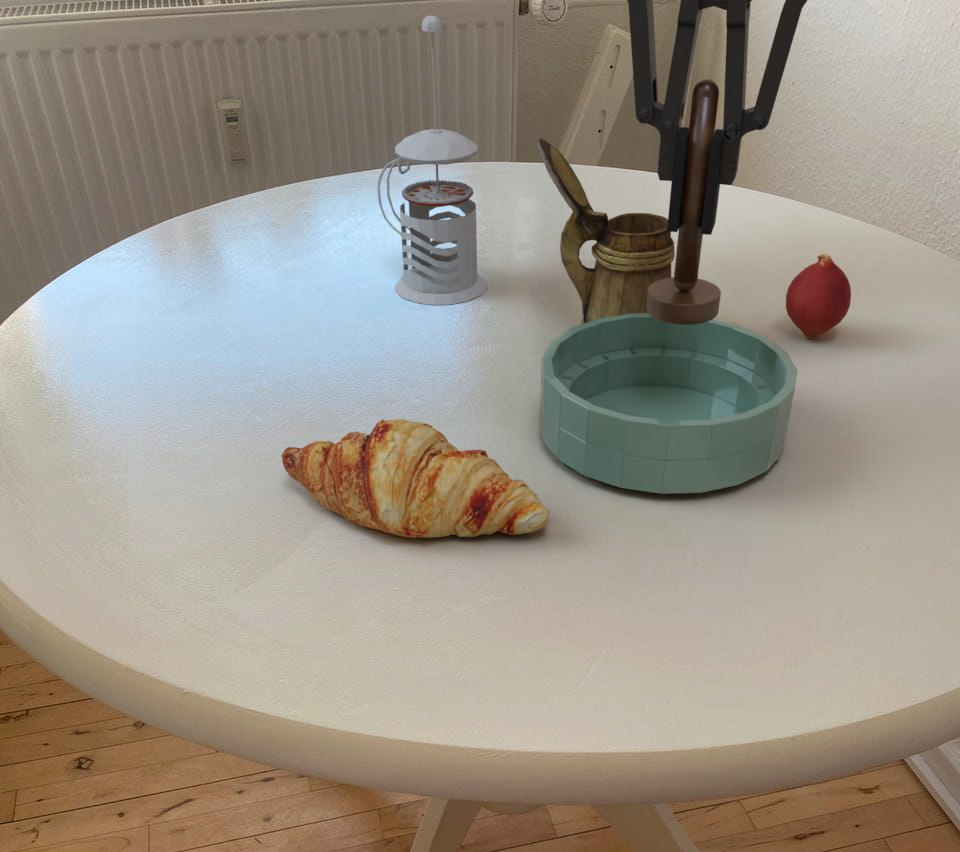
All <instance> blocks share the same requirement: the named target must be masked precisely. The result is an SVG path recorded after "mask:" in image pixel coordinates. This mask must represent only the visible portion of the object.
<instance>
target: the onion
mask: <svg viewBox="0 0 960 852" xmlns="http://www.w3.org/2000/svg"><path fill="white" fill-rule="evenodd" d="M851 299H852V289H851V284H850V281H849V279H848V276H847V275H846V274H845V272H844V271H843V269H841V267H839V266H838V265H837V264H836V263H835V262H834V260H833V259H832V257H831V256H830V254H828V253H821V254H820V255H817V261H816V262H815V263H812V264H809V265H808V266H806V267H805V268H803V269H802V270H801V271H800V272H799V273H797V275H796V276H795V277H794V278H793V279H792V281H791V282H790V284H789V286H788V287H787V291H786V293H785V311H786V313H787V316H788V318H789V319H790V320H791V322H792V323H793V324H794V325H795V326H796V327H797V328H798V329H799V330H800V331H801V332H802V334H803V335H804V336H805V337H806V338H807V339H814V338H817V337H818V336H821V335H824V334H825V333H828V332H830V331H831V330H832V329H834V328H835V327H837V325H839V324H841V322H842V321H843V319H845V317H846V316H847V314H848V312H849V309H850V307H851Z"/></svg>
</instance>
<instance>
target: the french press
mask: <svg viewBox="0 0 960 852" xmlns="http://www.w3.org/2000/svg"><path fill="white" fill-rule="evenodd" d="M442 24H443V23H442V21H441V19H439V17H438V16H437V15H426V16H425V17H424V18H423V19H422V22H421V31H422V32H425V33H430V40H431V41H430V42H431V43H430V44H431V63H432V64H431V70H432V92H433V93H432V96H433V97H432V98H433V99H432V100H433V123H434V126H433V127H434V128H431V129H422V130H420V131H418V132H415V133H412V134H411V135H408V136H406V137H404V138H403V139H401V141H400V142H399V143H398V144H396V145H395V146H394V153H395V154H396V155H397V156H398V158H394V159H392V160H391V161H390V162H388V163H387V164H386V165H385V166H384V167H383V168H381V171H380V174H379V176H378V180H377V186H376V189H377V197H378V198H377V199H378V205H379V208H380V211H381V214H382V216H383V219H384V220H385V222H386V223H387V224H388V226H389V227H390V228H391V229H392V230H394V231H395V232H396V233H397V235H399V236H400V237H401V249H402V263H403V264H402V266H403V268H402V269H403V275H402V277H400V279H398V281H397V282H396V283H394V288H395V289H394V290H395V293H396V294H397V295H398V296H400V298H402V299H404V300H407V301H410V302H413V303H416V304H422V305H429V306H443V305H445V306H446V305H447V306H448V305H455V304H461V303H465V302H470V301H471V300H474V299H476V298H478V297H480V296H482V295H483V294H484V292H485V291H486V290H487V289H488V285H487V281H486V280H485V278H483V277H482V276H481V275H480V274H478V245H477V244H478V242H477V239H478V238H477V237H478V235H477V232H478V231H477V205H476V202H475V201H473V200H471V198H472V197H473V195H474V189H473V188H472V186H470V185H468V183H464V182H461V181H456V180H454V181H453V180H449V179H448V180H447V179H441V180H440V179H439V166H441V165H442V166H443V165H446V166H447V165H452V164H458V163H462V162H465V161H468V160H471V159H472V158H473V157H475V156H476V154H477V152H478V151H479V149H478V144H476V143H475V142H474V141H472V140H471V139H469V138H468V137H467V136H464V135H462V134H460V133H458V132H456V131H453V130H448V129H443V128H438V127H437V125H438V124H437V123H438V122H437V99H436V95H437V94H436V72H435V71H436V69H435V41H434V40H435V39H434V33H436V32H442V31H443V26H442ZM401 160H404V161H406V162H407V163H406V165H407V167H406V169H405V170H402V163H401V162H400V161H401ZM411 163H413V164H422V165H435V180H434V179H432V180H431V179H429V180H427V179H426V180H422V181H421V180H420V181H417V182H414V183H410V184H408V185H406V186H405V188H403V190H402V191H401V192H402V193H401V195H402V198H403V199H404V200H405V201H407V202H408V213H409V214H406V207H405V206H406V205H405V203H406V202H403V203H402V204H401V205H400V206H399V214H400V215H398V214H397V213H396V210H395V208H394V206H393V203H392V202H393V201H392V199H391V195H390V193H391V192H390V178H391V173H392V172H393V168H394V167H395V166H396V164H397V167H398V172H399V174H400V175H404V174H406V173H407V172H408V171H409V170H410V169H411ZM388 167H390V168H389V170H388V173H387V176H386V192H387V193H386V196H387V201H388V203H389V207H390V208H391V212H392V214H393V216H394V217H395V219H396V220H397V221H398V222H399V224H400V230H398V228H397V227H395V226H394V225H393V224H392V222H390V220H389V219H388V218H387V216H386V215H387V214H386V213H385V211H384V208H383V203H382V197H381V184H382V183H381V182H382V179H383V177H384V173H385V171H386V170H387V169H388ZM449 206H451V207H454V208H457V209H459V210H460V211H461V212H462V213H463V214H464V215H461V214H459V213H456V212H453V211H450V210H447V211H442V212H438V213H435V214H433V215H430V211H432V210H435V209H436V208H442V207H449ZM399 216H400V217H399ZM407 230H408V231H409V232H407ZM408 241H410V245H408ZM449 243H451V244H454V245H455V246H452V247H446V248H442V247H436V246H438V245H443V244H449ZM408 253H409V254H410V255H411V258H410V257H409V255H408ZM409 266H411V269H409Z"/></svg>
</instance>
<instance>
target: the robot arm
mask: <svg viewBox="0 0 960 852" xmlns="http://www.w3.org/2000/svg"><path fill="white" fill-rule="evenodd" d="M626 1H627V4H628V18H629V31H630V32H629V33H630V46H631V47H630V49H631V60H632V61H631V62H632V63H631V64H632V77H633V79H632V80H633V90H634V91H633V92H634V93H633V94H634V108H635V117H636V118H635V119H636V120H637V121H638V122H639V123H640V124H642V125H643V124H644V125H645V124H647V125H649V126H651V127H654V128H655V129H656V130H657V131H658V132H659V150H658V164H657V176H658V180H659V181H663V182H664V181H666V182H671V186H670V193H669V205H668V216H667V219H668V226H667V231H669V232H671V233H678V232H679V225H680V215H681V205H682V195H683V185H684V176H685V166H686V156H687V146H688V136H689V126H687V127H686V126H682V121H683V120H684V117H685V116H684V113H685V107H686V101H687V96H688V90H689V86H690V85H689V84H690V79H691V75H692V74H691V73H692V70H693V69H692V68H693V64H694V63H693V62H694V58H695V52H696V46H697V40H698V35H699V30H700V25H701V19H702V17H703V12H704V9H709V8H712V7H715V8H717V9H721V10H724V11H726V15H725V23H726V24H725V25H726V26H725V27H726V37H725V38H726V39H725V40H726V41H725V66H724V67H725V69H724V70H725V71H724V91H723V92H724V93H723V94H724V95H723V98H724V99H723V120H722V121H723V122H722V124H723V125H722V129H719V128H715V133H714V135H713V137H712V140H711V148H710V157H709V166H708V175H707V183H706V192H705V201H704V210H703V218H702V227H701V234H703V235H705V236H707V235H708V236H711V235H712V233H713V230H714V228H715V225H716V220H717V214H718V213H717V212H718V205H719V196H720V187H721V185H725V186H732V185H733V183H734V181H735V179H736V177H737V174H738V170H739V161H740V154H741V146H742V138H743V137H744V136H745V135H746V134H748V133H751V132H754V131H762V130H765V129H766V128H767V127H768V125H769V122H770V119H771V116H772V113H773V110H774V106H775V103H776V99H777V96H778V92H779V89H780V86H781V82H782V78H783V76H784V72H785V69H786V64H787V62H788V58H789V55H790V51H791V49H792V48H791V47H792V44H793V41H794V37H795V34H796V30H797V27H798V24H799V20H800V17H801V13H802V10H803V8H804V7H805V5H806V3H807V2H808V0H785V1H784V4H783V6H782V9H781V12H780V15H779V20H778V22H777V26H776V29H775V33H774V36H773V40H772V43H771V47H770V50H769V54H768V58H767V61H766V65H765V68H764V72H763V76H762V78H761V79H762V80H761V83H760V86H759V89H758V94H757V97H756V101H755V105H754V106H752V107H748V108H746V96H747V95H746V94H747V93H746V92H747V73H748V51H749V49H748V48H749V31H750V18H751V2H752V1H753V0H680V4H679V8H678V15H677V23H676V24H677V26H676V31H675V37H674V38H675V39H674V43H673V51H672V56H671V62H670V68H669V74H668V80H667V85H666V91H665V97H664V103H662V102H660V101H659V91H658V90H659V89H658V88H659V87H658V74H657V73H658V72H657V71H658V70H657V53H656V36H655V35H656V33H655V18H654V17H655V15H654V1H653V0H626Z"/></svg>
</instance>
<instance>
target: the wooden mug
mask: <svg viewBox="0 0 960 852" xmlns="http://www.w3.org/2000/svg"><path fill="white" fill-rule="evenodd" d="M537 148H538V150H539V153H540V156H541V159H542V161H543V164H544V167H545V170H546V171H547V173H548V175H549V177H550V179H551V181H552V182H553V184H554V186H555V187H556V189H557V190H558V192H559V193H560V195H561V197H562V198H563V200H564V201H565V204H567V206H568V207H569V208H570V209H571V210H572V213H571V215H570V216H569V217H568V219H567V221H565V224H564V226H563V229H562V231H561V234H560V243H559V252H560V258H561V263H562V265H563V267H564V270H565V271H566V274H567V275H568V278H569V279H570V281H571V283H572V285H573V286H574V288H575V290H576V292H577V294H578V296H579V298H580V301H581V309H582V310H581V311H582V319H581V320H580V323H579V325H582V324H585V323H587V322H590V321H593V320H596V319H600V318H606V317H612V316H619V315H625V314H631V313H648V312H647V309H646V307H647V295H648V288H649V286H650V285H651V284H652V283H654V282H656V281H658V280H661V279H665V278H672V263H673V262H674V260H675V258H676V251H675V242H674V239H673V238H672V232H669V231H667V226H668V217H665V216H662V215H660V214H659V215H658V214H653V213H648V212H628V213H623V214H619V215H616V216H613V217H611V218H609V215H608V214H607V213H606V212H602V211H595V210H594V208H593V207H592V206H591V204H590V202H589V200H588V199H589V198H588V196H587V194H586V191H585V189H584V188H583V186H582V183H581V182H580V180H579V178H578V176H577V175H576V173H575V171H574V170H573V167H572V166H571V165H570V163H569V162H568V161H567V159H566V158H565V156H564V155H563V154H562V152H561V151H560V150H559V149H558V148H557V147H555V146H554V145H553V144H552V143H550V142H548V141H547V140H545V139H544V138H542V137H540V138H539V139H538V141H537ZM589 241H595V242H596V243H594V244H592V246H591V255H592V256H593V258H594V259H595V263H594V266H593V267H587V266H585V265H583V263H582V260H581V259H580V250H581V248H582V247H583V245H584V244H585V243H586V242H589Z"/></svg>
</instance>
